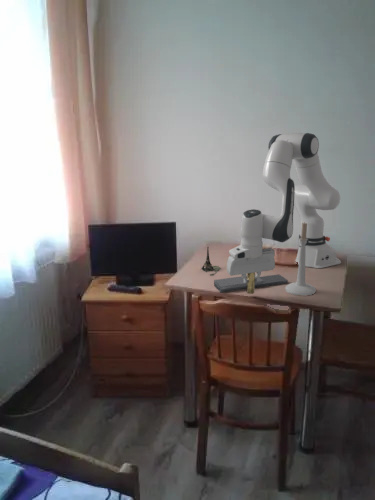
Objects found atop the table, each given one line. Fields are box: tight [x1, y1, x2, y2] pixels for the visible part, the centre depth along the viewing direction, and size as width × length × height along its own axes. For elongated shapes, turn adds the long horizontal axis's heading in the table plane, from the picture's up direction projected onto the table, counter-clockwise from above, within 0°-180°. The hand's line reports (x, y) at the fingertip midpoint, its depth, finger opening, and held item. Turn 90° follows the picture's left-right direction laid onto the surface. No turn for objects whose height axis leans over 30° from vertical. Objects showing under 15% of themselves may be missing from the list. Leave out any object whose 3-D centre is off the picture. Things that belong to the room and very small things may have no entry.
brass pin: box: [246, 272, 256, 295], centre depth 185 cm, size 3×3×10 cm
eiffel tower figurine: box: [200, 246, 222, 277], centre depth 217 cm, size 15×10×13 cm
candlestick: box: [284, 222, 317, 297], centre depth 188 cm, size 13×13×30 cm
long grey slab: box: [213, 274, 288, 293], centre depth 199 cm, size 32×8×3 cm, turn 107°
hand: (250, 282), depth 185 cm, fingers closed on brass pin, 3 cm apart
